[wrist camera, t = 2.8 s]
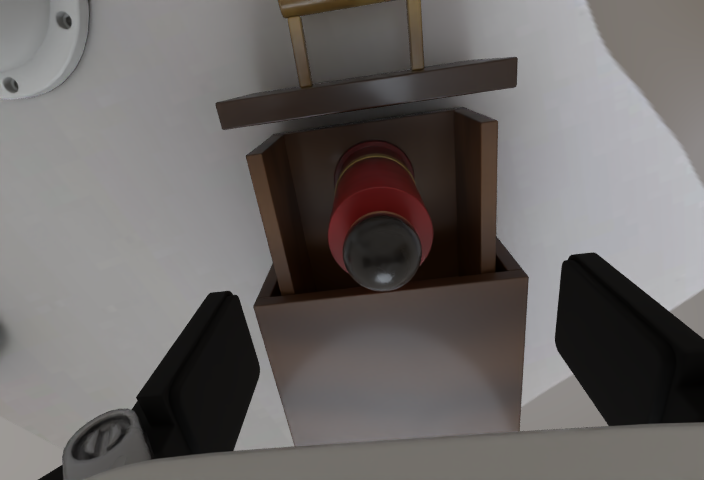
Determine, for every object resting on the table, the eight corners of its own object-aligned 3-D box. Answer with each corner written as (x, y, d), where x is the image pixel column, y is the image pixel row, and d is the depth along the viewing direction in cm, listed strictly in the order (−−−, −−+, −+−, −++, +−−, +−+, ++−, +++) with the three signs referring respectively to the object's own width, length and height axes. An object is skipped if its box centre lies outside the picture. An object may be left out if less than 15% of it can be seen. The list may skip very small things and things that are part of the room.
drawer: (233, 6, 21) (181, -18, 15) (473, -35, 20) (523, -80, 14) (300, 294, 29) (283, 356, 23) (475, 275, 28) (508, 334, 22)
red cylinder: (328, 145, 23) (299, 213, 12) (410, 133, 23) (454, 193, 12) (340, 220, 25) (325, 335, 14) (416, 211, 25) (458, 321, 14)
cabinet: (282, 239, 28) (252, 306, 20) (480, 215, 27) (529, 276, 19) (319, 394, 34) (307, 490, 27) (480, 380, 33) (517, 476, 25)
